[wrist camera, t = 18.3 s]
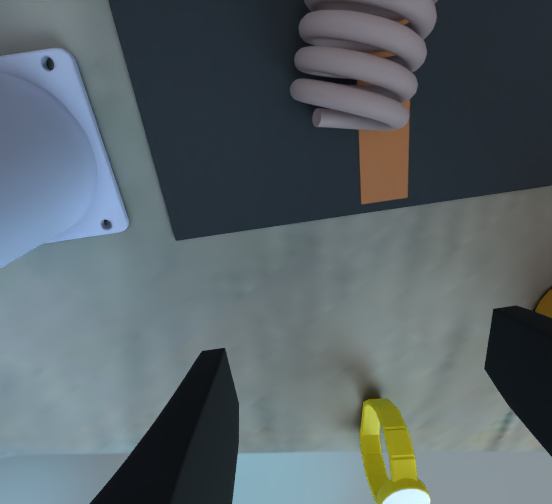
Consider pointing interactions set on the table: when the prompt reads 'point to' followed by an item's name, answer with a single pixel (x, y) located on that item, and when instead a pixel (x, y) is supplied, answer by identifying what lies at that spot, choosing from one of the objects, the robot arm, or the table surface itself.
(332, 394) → the table surface
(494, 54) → the mat
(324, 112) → the coil
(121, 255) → the table surface
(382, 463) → the watch
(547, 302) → the flashlight
